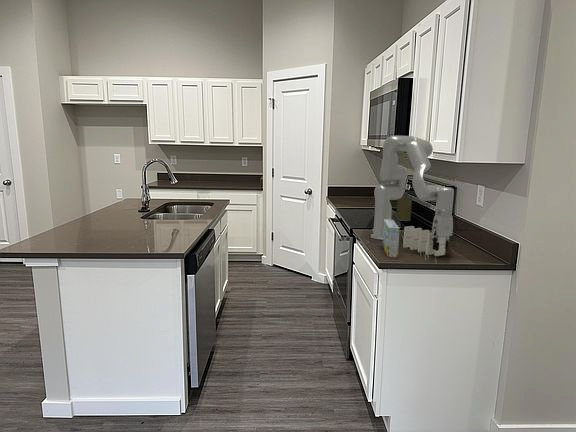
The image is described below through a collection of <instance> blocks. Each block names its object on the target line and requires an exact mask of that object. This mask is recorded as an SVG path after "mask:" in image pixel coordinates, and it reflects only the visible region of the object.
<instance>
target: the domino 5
mask: <svg viewBox="0 0 576 432" xmlns="http://www.w3.org/2000/svg"><path fill="white" fill-rule="evenodd" d="M436 236H437V234H436ZM436 239H437V237H436ZM445 245H446V237H440V239H439V250H438V251H437V250H435V252H434V254H433V255H434V256H435V257H440V256H445V255H446V249H445Z"/></svg>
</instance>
